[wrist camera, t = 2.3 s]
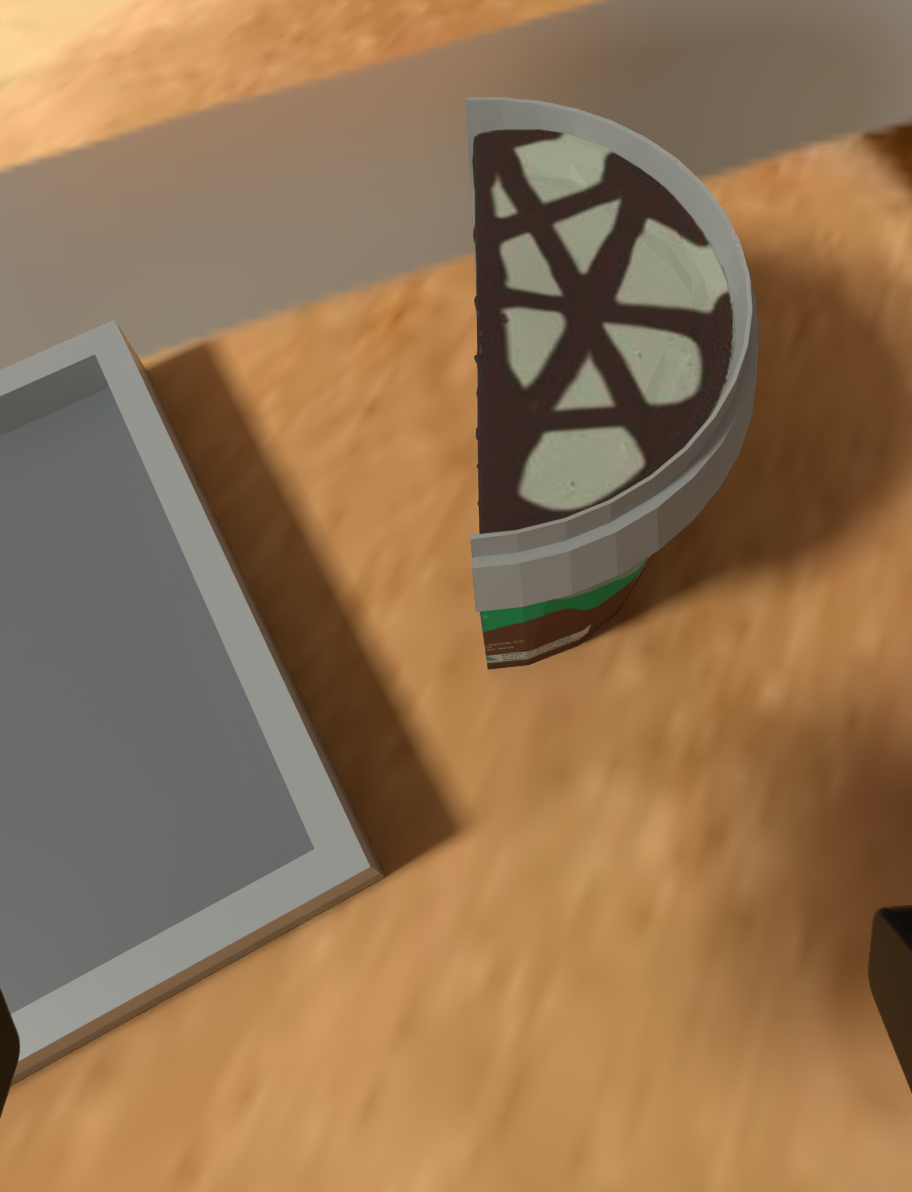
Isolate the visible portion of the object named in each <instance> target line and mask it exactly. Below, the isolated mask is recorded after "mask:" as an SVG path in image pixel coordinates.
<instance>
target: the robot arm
mask: <svg viewBox="0 0 912 1192" xmlns="http://www.w3.org/2000/svg"><path fill="white" fill-rule="evenodd" d="M868 979H869V984H870V988H871V992H872V995H873V998H874V1000H875V1003H876V1005H877V1008H878V1010H879V1013H880V1015H881V1018H882V1020H883V1023H884V1025H885V1028H886V1030H887V1033H888V1035H889V1038H890V1040H891V1043H892V1045H893V1048H894V1050H895V1053H896V1055H897V1058H898V1060H899V1063H900V1065H901V1068H902V1070H903V1073H904V1075H905V1078H906V1080H907V1083H908V1085H909V1088H910V1090H911V1093H912V905H905V906H892V907H883V908H880V909H878V910H877V911H876V913H875V915H874V918H873V924H872V934H871V944H870V953H869V963H868ZM19 1055H20V1039H19V1034H18V1032H17V1029H16V1026H15V1024H14V1021H13V1019H12V1016H11V1013H10V1011H9V1008H8V1006H7V1003H6V1001H5V998H4V995H3V993H2V990H1V988H0V1117H1V1114H2V1111H3V1108H4V1105H5V1102H6V1099H7V1096H8V1093H9V1089H10V1086H11V1083H12V1080H13V1077H14V1074H15V1071H16V1068H17V1064H18V1061H19Z"/></svg>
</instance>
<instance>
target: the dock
mask: <svg viewBox="0 0 912 1192" xmlns="http://www.w3.org/2000/svg"><path fill="white" fill-rule="evenodd" d="M383 878H385V875H384V873H383V871H382V869H381V867H380V865H379V862H378V860H377V858H376V856H375V854H374V852H373V850H372V848H371V846H370V843H369V841H368V839H367V837H366V835H365V833H364V831H363V829H362V826H361V824H360V822H359V820H358V818H357V816H356V814H355V812H354V810H353V807H352V805H351V803H350V801H349V799H348V797H347V795H346V793H345V790H344V788H343V786H342V784H341V782H340V780H339V778H338V776H337V773H336V771H335V769H334V767H333V765H332V763H331V761H330V759H329V757H328V754H327V752H326V750H325V748H324V746H323V744H322V742H321V740H320V737H319V735H318V733H317V731H316V729H315V727H314V725H313V723H312V721H311V718H310V716H309V714H308V712H307V710H306V708H305V706H304V704H303V701H302V699H301V697H300V695H299V693H298V691H297V689H296V687H295V685H294V682H293V680H292V678H291V676H290V674H289V672H288V670H287V668H286V665H285V663H284V661H283V659H282V657H281V655H280V653H279V651H278V649H277V646H276V644H275V642H274V640H273V638H272V636H271V634H270V632H269V629H268V627H267V625H266V623H265V621H264V619H263V617H262V615H261V613H260V610H259V608H258V606H257V604H256V602H255V600H254V598H253V596H252V593H251V591H250V589H249V587H248V585H247V583H246V581H245V579H244V576H243V574H242V572H241V570H240V568H239V566H238V564H237V562H236V560H235V557H234V555H233V553H232V551H231V549H230V547H229V545H228V543H227V540H226V538H225V536H224V534H223V532H222V530H221V528H220V526H219V524H218V521H217V519H216V517H215V515H214V513H213V511H212V509H211V507H210V504H209V502H208V500H207V498H206V496H205V494H204V492H203V490H202V488H201V485H200V483H199V481H198V479H197V477H196V475H195V473H194V471H193V468H192V466H191V464H190V462H189V460H188V458H187V456H186V454H185V452H184V449H183V447H182V445H181V443H180V441H179V439H178V437H177V435H176V432H175V430H174V428H173V426H172V424H171V422H170V420H169V418H168V415H167V413H166V411H165V409H164V407H163V405H162V403H161V401H160V399H159V396H158V394H157V392H156V390H155V388H154V386H153V384H152V382H151V379H150V377H149V375H148V373H147V371H146V369H145V367H144V366H143V364H142V363H141V361H140V359H139V358H138V356H137V355H136V353H135V351H134V350H133V348H132V347H131V345H130V343H129V342H128V340H127V339H126V337H125V335H124V334H123V332H122V331H121V329H120V328H119V326H118V324H117V323H116V321H115V320H113V321H110V322H108V323H106V324H104V325H101V326H99V327H97V328H94V329H92V330H90V331H88V332H85V333H83V334H81V335H79V336H76V337H74V338H72V339H69V340H68V341H65V342H63V343H60V344H58V345H56V346H53V347H51V348H49V349H47V350H44V351H42V352H40V353H38V354H35V355H33V356H31V357H28V358H26V359H24V360H22V361H19V362H17V363H15V364H12V365H10V366H8V367H6V368H3V369H1V370H0V988H1V990H2V993H3V995H4V998H5V1001H6V1003H7V1006H8V1008H9V1011H10V1013H11V1016H12V1019H13V1021H14V1024H15V1026H16V1029H17V1032H18V1034H19V1039H20V1055H19V1061H18V1064H17V1068H16V1071H15V1074H14V1077H13V1080H12V1083H11V1085H13V1084H14V1083H16V1082H18V1081H20V1080H22V1079H23V1078H25V1077H27V1076H29V1075H31V1074H32V1073H34V1072H36V1071H38V1070H40V1069H41V1068H43V1067H45V1066H47V1065H49V1064H50V1063H52V1062H54V1061H56V1060H58V1059H59V1058H61V1057H63V1056H65V1055H66V1054H68V1053H70V1052H72V1051H74V1050H75V1049H77V1048H79V1047H81V1046H83V1045H84V1044H86V1043H88V1042H90V1041H92V1040H93V1039H95V1038H97V1037H99V1036H101V1035H102V1034H104V1033H106V1032H108V1031H110V1030H111V1029H113V1028H115V1027H117V1026H119V1025H120V1024H122V1023H124V1022H126V1021H128V1020H129V1019H131V1018H133V1017H135V1016H137V1015H138V1014H140V1013H142V1012H144V1011H146V1010H147V1009H149V1008H151V1007H153V1006H155V1005H156V1004H158V1003H160V1002H162V1001H164V1000H165V999H167V998H169V997H171V996H173V995H174V994H176V993H178V992H180V991H182V990H183V989H185V988H187V987H189V986H191V985H192V984H194V983H196V982H198V981H200V980H201V979H203V978H205V977H207V976H209V975H210V974H212V973H214V972H216V971H218V970H219V969H221V968H223V967H225V966H227V965H228V964H230V963H232V962H234V961H236V960H237V959H239V958H241V957H243V956H245V955H246V954H248V953H250V952H252V951H253V950H255V949H257V948H259V947H261V946H262V945H264V944H266V943H268V942H270V941H271V940H273V939H275V938H277V937H279V936H280V935H282V934H284V933H286V932H288V931H289V930H291V929H293V928H295V927H297V926H298V925H300V924H302V923H304V922H306V921H307V920H309V919H311V918H313V917H315V916H316V915H318V914H320V913H322V912H324V911H325V910H327V909H329V908H331V907H333V906H334V905H336V904H338V903H340V902H342V901H343V900H345V899H347V898H349V897H351V896H352V895H354V894H356V893H358V892H360V891H361V890H363V889H365V888H367V887H369V886H370V885H372V884H374V883H376V882H378V881H379V880H381V879H383Z"/></svg>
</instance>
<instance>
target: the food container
mask: <svg viewBox="0 0 912 1192" xmlns="http://www.w3.org/2000/svg"><path fill="white" fill-rule="evenodd" d="M466 111H467V128H468V146H469V164H470V183H471V200H472V217H473V236H474V254H475V272H476V297H475V299H474V302H475V307H476V311H477V314H476V315H477V354H478V355H475V357H474V358H475V361H476V363H477V368H478V388H477V398H478V427H477V429H476V439H477V440H478V464H477V466H476V467H477V468H478V487H479V501H478V502H477V503H478V506H479V531H480V534H476V535H470V540H471V550H472V570H473V582H474V594H475V606H476V612H479V611H480V616H481V624H482V631H483V638H484V645H485V653H486V660H487V667H488V669H497V668H506V667H515V666H525V665H530V664H532V663H535V662H537V661H540V660H542V659H545V658H548V657H550V656H553V655H555V654H558V653H560V652H563V651H566V650H568V649H571V648H573V647H576V646H578V645H579V644H580V643H582V642H583V641H584V640H585V639H587V638H588V637H589V636H590V635H591V634H593V633H594V632H595V631H596V630H598V629H599V628H600V627H601V626H603V625H604V624H605V623H606V622H608V621H609V620H610V619H611V618H613V617H614V616H615V615H616V614H617V613H618V611H619V609H620V608H621V606H622V605H623V603H624V601H625V600H626V598H627V596H628V595H629V593H630V592H631V590H632V588H633V587H634V585H635V584H636V582H637V580H638V579H639V577H640V575H641V574H642V572H643V570H644V568H645V566H646V564H647V562H648V560H649V558H650V556H651V555H652V554H654V553H655V552H657V551H658V550H660V549H661V548H662V547H663V546H664V545H665V544H667V543H668V542H669V541H670V540H671V539H672V538H674V537H675V536H676V535H677V534H678V533H679V532H681V531H682V530H683V529H684V528H685V527H686V526H688V525H689V524H690V523H691V522H692V521H693V520H694V519H695V518H696V517H697V515H698V514H699V513H700V512H701V511H702V509H703V508H704V507H705V506H706V504H707V503H708V502H709V501H710V500H711V498H712V497H713V496H714V495H715V494H716V492H717V491H718V490H719V489H720V487H721V486H722V484H723V482H724V480H725V478H726V477H727V475H728V473H729V471H730V469H731V468H732V466H733V464H734V462H735V461H736V459H737V457H738V455H739V453H740V451H741V448H742V445H743V442H744V439H745V436H746V433H747V430H748V427H749V424H750V421H751V418H752V414H753V406H754V398H755V389H756V381H757V367H758V349H759V324H758V311H757V298H756V295H755V291H754V288H753V284H752V281H751V277H750V274H749V270H748V267H747V264H746V260H745V257H744V253H743V250H742V246H741V243H740V240H739V238H738V236H737V234H736V232H735V230H734V229H733V227H732V225H731V223H730V221H729V219H728V217H727V215H726V213H725V211H724V210H723V208H722V207H721V206H720V204H719V203H718V202H717V200H716V199H715V198H714V197H713V195H712V194H711V193H710V191H709V190H708V189H707V187H706V186H705V185H704V184H703V182H702V181H700V180H699V179H698V178H697V177H696V176H695V175H694V174H693V173H692V172H691V171H690V170H689V169H687V168H686V167H685V166H684V165H683V164H682V163H681V162H680V161H679V160H678V159H677V158H675V157H674V156H673V155H671V154H670V153H668V152H667V151H665V150H664V149H662V148H661V147H659V146H658V145H656V144H655V143H653V142H652V141H650V140H649V139H647V138H646V137H644V136H642V135H640V134H637V133H636V132H634V131H632V130H630V129H628V128H626V127H624V126H622V125H620V124H617V123H615V122H614V121H611V120H608V119H605V118H602V117H599V116H596V115H593V114H591V113H588V112H585V111H582V110H579V109H575V108H570V107H566V106H561V105H556V104H552V103H547V102H543V101H535V100H524V99H513V98H503V97H473V98H466Z"/></svg>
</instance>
